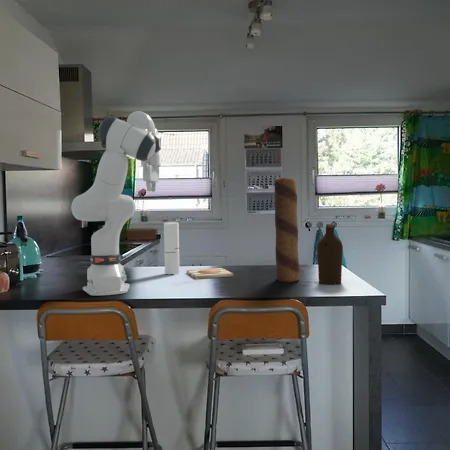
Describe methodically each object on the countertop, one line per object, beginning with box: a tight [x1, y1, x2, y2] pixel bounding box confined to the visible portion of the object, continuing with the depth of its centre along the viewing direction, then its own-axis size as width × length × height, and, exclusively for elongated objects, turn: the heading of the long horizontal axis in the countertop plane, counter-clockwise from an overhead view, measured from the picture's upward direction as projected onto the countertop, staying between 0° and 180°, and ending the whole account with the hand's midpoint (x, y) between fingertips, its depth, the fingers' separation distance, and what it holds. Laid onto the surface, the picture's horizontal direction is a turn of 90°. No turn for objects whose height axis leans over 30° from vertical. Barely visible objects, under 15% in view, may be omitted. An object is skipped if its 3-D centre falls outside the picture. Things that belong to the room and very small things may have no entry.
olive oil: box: [316, 223, 344, 286], centre depth 199 cm, size 11×11×25 cm
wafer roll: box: [274, 177, 300, 283], centre depth 206 cm, size 10×11×45 cm
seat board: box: [186, 267, 234, 280], centre depth 225 cm, size 18×18×2 cm
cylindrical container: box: [163, 221, 181, 275], centre depth 229 cm, size 7×7×25 cm
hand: (151, 191), depth 225 cm, fingers open, 8 cm apart
